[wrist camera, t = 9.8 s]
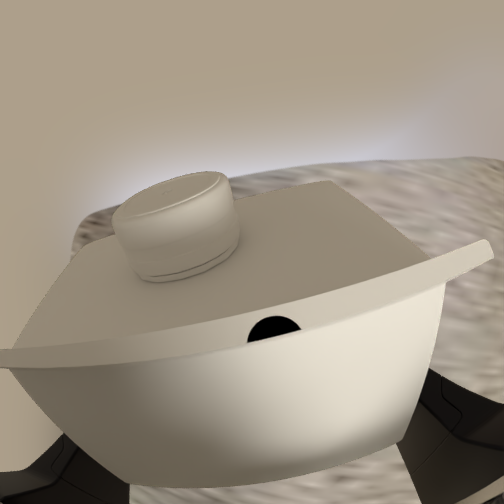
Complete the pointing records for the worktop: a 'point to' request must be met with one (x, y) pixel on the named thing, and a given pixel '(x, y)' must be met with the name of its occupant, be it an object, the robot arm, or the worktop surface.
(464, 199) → the worktop surface
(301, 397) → the milk carton
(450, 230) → the worktop surface
